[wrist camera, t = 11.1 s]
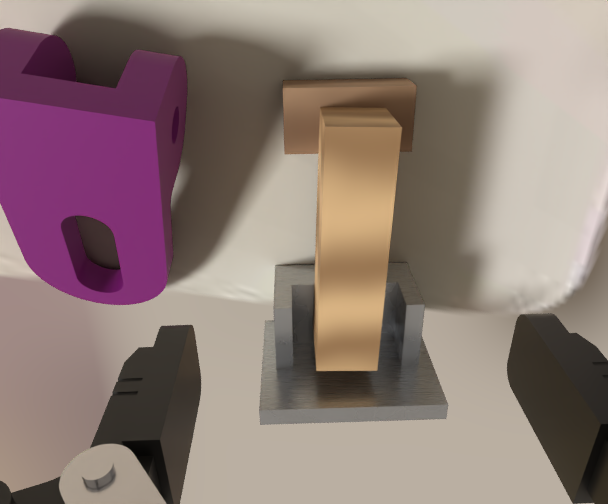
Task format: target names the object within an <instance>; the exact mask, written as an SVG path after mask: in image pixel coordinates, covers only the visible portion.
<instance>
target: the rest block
mask: <svg viewBox="0 0 608 504" xmlns="http://www.w3.org/2000/svg"><path fill="white" fill-rule="evenodd" d="M416 90H417V86H416V85H415V84H414V83H412V82H411V81H410V80H409V79H407V78H384V79H329V80H283V116H284V149H285V154H316V153H319V125H320V107H352V108H386V109H387V110H388V111H389V112H390V114H391V115H392V116H393V117H394V118H395V120H396V121H397V122H398V123H399V124H400V126H401V127H402V133H401V142H400V152H412V140H413V128H414V115H415V103H416Z"/></svg>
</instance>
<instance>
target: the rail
mask: <svg viewBox="0 0 608 504" xmlns="http://www.w3.org/2000/svg"><path fill="white" fill-rule="evenodd" d="M401 133H402V127H401V126H400V124H399V123H398V122H397V121H396V120H395V118H394V117H393V116H392V115H391V114H390V112H389V111H388V110H387V109H386V108H352V107H320V125H319V156H318V188H317V219H316V251H315V282H314V314H313V333H314V345H315V358H316V371H377V368H378V358H379V348H380V338H381V329H382V319H383V309H384V299H385V289H386V280H387V270H388V260H389V250H390V240H391V231H392V221H393V211H394V201H395V191H396V182H397V172H398V162H399V152H400V142H401Z"/></svg>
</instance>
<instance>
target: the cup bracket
mask: <svg viewBox="0 0 608 504" xmlns="http://www.w3.org/2000/svg"><path fill="white" fill-rule="evenodd" d="M314 282H315V265H278V266H275V285H274V321H265V331H264V346H263V347H264V348H263V362H262V377H261V392H260V394H261V395H260V407H259V408H260V409H259V413H260V424H261V425H265V424H294V423H296V424H297V423H326V422H327V423H329V422H361V421H391V420H424V419H446V417H447V409H448V403H447V400H446V398H445V395H444V392H443V390H442V387H441V385H440V382H439V380H438V377H437V374H436V372H435V369H434V367H433V364H432V361H431V359H430V357H429V354H428V351H427V349H426V346H425V344H424V341H423V338H422V327H423V317H424V309H425V304H424V301H423V299H422V297H421V294H420V292H419V290H418V288H417V285H416V283H415V281H414V278H413V276H412V274H411V271H410V269H409V267H408V265H407V262H397V263H388V270H387V280H386V289H385V299H384V309H383V319H382V329H381V338H380V348H379V358H378V368H377V371H316V358H315V345H314V333H313V314H314Z"/></svg>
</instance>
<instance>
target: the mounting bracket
mask: <svg viewBox="0 0 608 504" xmlns="http://www.w3.org/2000/svg"><path fill="white" fill-rule="evenodd" d="M186 105H187V73H186V66H185V62H184V59H183V58H182V57H181V56H175V55H169V54H162V53H156V52H150V51H144V50H138V49H137V50H135V51H134V52H133V53H132V54H131V56H130V58H129V60H128V62H127V64H126V66H125V69H124V71H123V73H122V76H121V78H120V80H119V82H118V85H117V87H116V88H110V87H104V86H98V85H91V84H85V83H79V82H76V71H75V66H74V62H73V59H72V56H71V53H70V51H69V49H68V47H67V45H66V44H65V42H64V41H63V40H62V39H61V38H60V37H58V36H54V35H48V34H42V33H36V32H30V31H24V30H18V29H12V28H4V29H1V30H0V203H1V206H2V208H3V210H4V213H5V215H6V217H7V220H8V222H9V224H10V226H11V229H12V231H13V233H14V236H15V238H16V240H17V243H18V245H19V247H20V249H21V252H22V254H23V256H24V259H25V261H26V262H27V264H28V265H29V267H30V268H31V269H32V270H33V272H34V273H35V274H37V275H38V276H39V277H40V278H41V279H42V280H44V281H45V282H47V283H48V284H50V285H51V286H53V287H55V288H57V289H58V290H60V291H62V292H65V293H67V294H69V295H72V296H74V297H77V298H81V299H84V300H88V301H92V302H96V303H103V304H111V305H112V304H113V305H129V304H136V303H142V302H145V301H148V300H150V299H152V298H154V297H156V296H158V295H159V294H160V293H161V292H162V291H163V290H164V288H165V286H166V284H167V280H168V276H169V271H170V267H171V263H172V259H173V241H172V225H171V208H170V205H171V195H172V191H173V187H174V183H175V180H176V176H177V172H178V169H179V164H180V160H181V154H182V149H183V142H184V134H185V120H186ZM76 215H80V216H87V217H91V218H94V219H97V220H99V221H101V222H102V223H104V224H105V225H107V226H108V227H109V228H110V229H111V231H112V232H113V234H114V238H115V243H116V249H117V254H118V259H119V264H120V269H118V270H114V269H107V268H103V267H100V266H98V265H96V264H94V263H93V262H91V261H90V260H89V259H88V258H87V256H86V254H85V250H84V247H83V243H82V240H81V236H80V232H79V229H78V225H77V222H76V218H75V216H76Z"/></svg>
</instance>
